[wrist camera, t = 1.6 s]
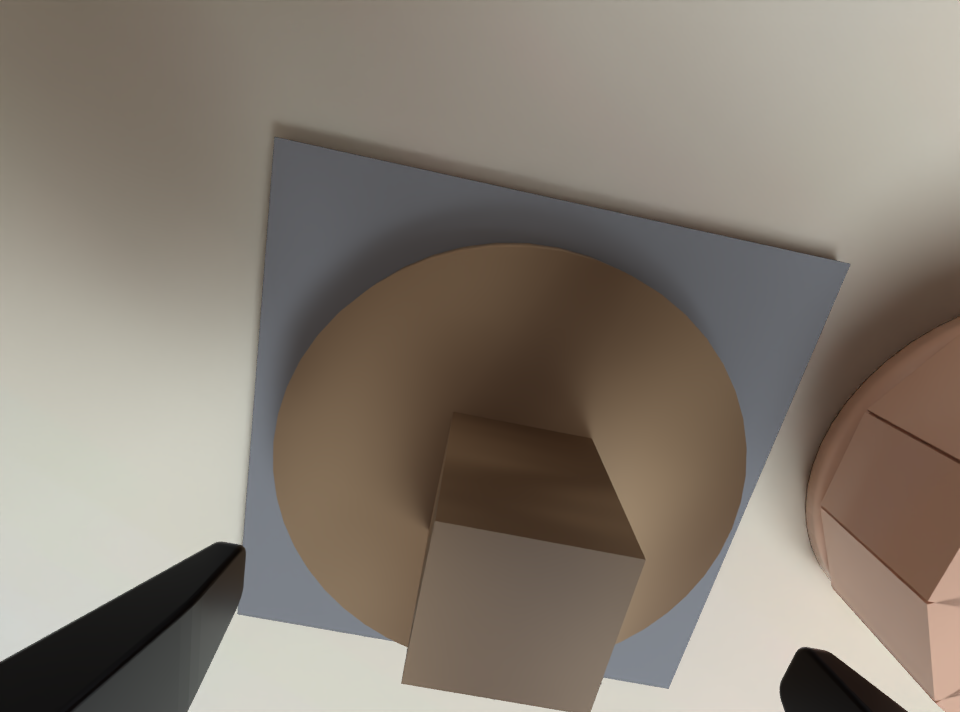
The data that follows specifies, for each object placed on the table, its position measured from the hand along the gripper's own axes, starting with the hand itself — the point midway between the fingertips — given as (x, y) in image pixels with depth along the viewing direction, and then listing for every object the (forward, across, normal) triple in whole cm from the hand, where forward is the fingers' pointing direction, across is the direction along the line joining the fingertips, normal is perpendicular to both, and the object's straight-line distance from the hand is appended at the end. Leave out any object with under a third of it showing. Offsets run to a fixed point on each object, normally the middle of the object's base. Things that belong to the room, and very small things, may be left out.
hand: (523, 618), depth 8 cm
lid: (+5, 0, 0) cm, 5 cm away
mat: (+6, 0, 0) cm, 6 cm away
